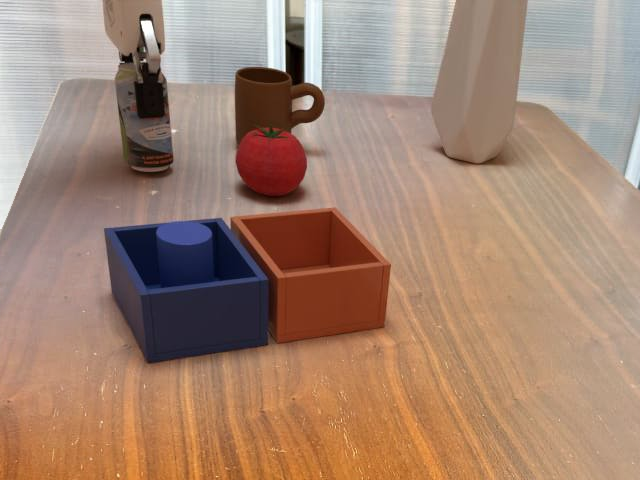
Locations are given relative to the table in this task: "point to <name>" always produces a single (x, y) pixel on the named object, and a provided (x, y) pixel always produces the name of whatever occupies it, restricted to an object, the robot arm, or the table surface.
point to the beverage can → (142, 126)
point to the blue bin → (187, 296)
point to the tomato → (271, 161)
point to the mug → (271, 101)
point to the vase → (479, 78)
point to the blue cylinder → (184, 254)
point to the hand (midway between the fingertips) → (143, 105)
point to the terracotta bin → (316, 272)
